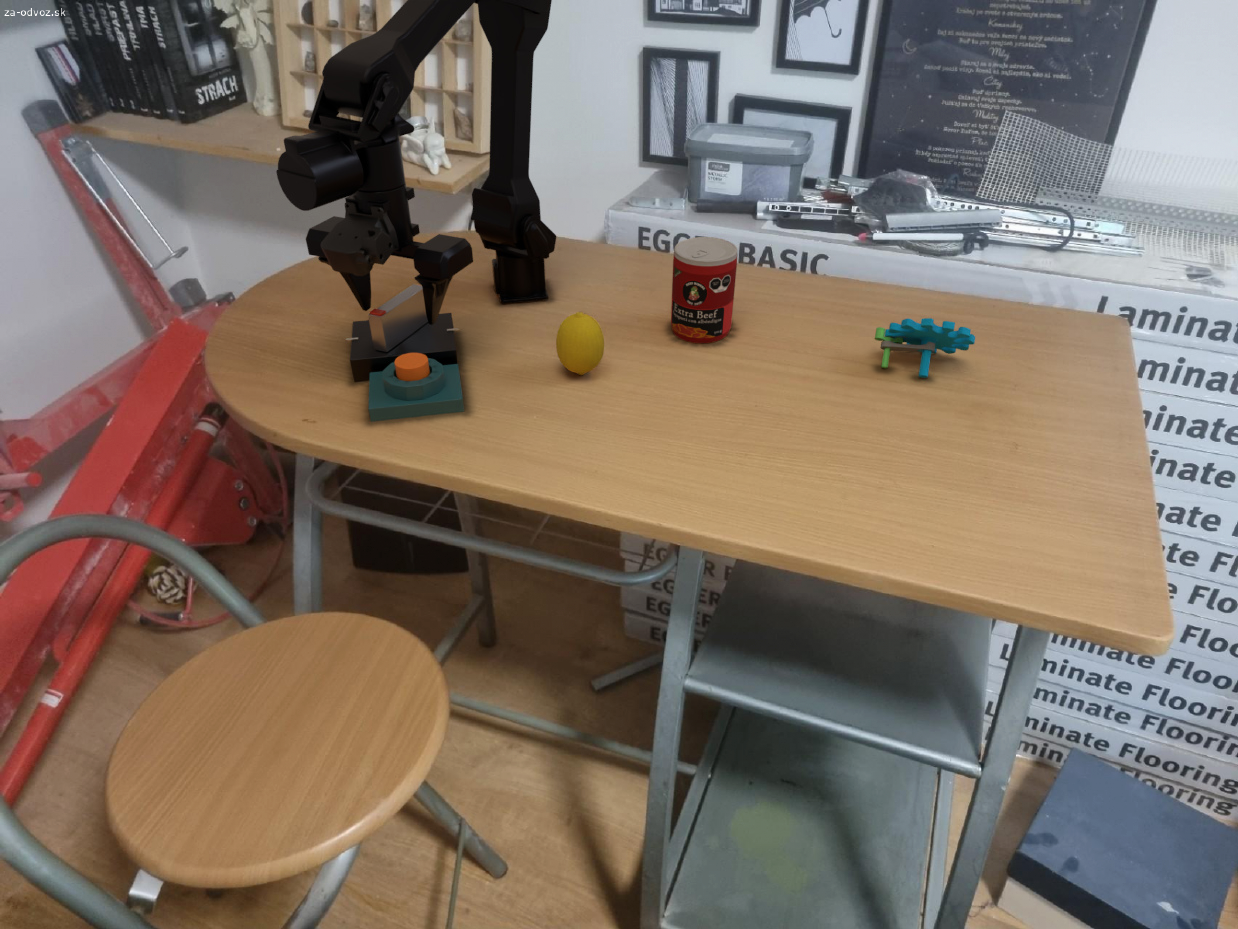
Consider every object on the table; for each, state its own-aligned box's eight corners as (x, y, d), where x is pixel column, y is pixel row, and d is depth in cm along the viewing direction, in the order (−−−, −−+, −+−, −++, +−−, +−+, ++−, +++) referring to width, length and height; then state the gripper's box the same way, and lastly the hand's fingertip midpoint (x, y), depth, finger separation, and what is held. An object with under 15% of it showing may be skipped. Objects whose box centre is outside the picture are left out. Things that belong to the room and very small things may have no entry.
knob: (417, 317, 108) (412, 281, 105) (430, 320, 107) (425, 284, 104) (374, 349, 101) (367, 312, 98) (387, 352, 100) (380, 315, 98)
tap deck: (457, 327, 112) (455, 305, 110) (465, 378, 102) (462, 354, 100) (352, 337, 110) (347, 314, 108) (348, 390, 99) (343, 365, 98)
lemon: (598, 388, 100) (598, 325, 95) (552, 383, 101) (549, 320, 96) (609, 365, 104) (608, 304, 100) (564, 360, 105) (561, 299, 100)
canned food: (661, 338, 110) (664, 255, 103) (682, 312, 116) (686, 232, 109) (720, 349, 108) (727, 265, 101) (738, 322, 114) (745, 241, 107)
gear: (976, 345, 105) (975, 315, 96) (969, 392, 104) (968, 366, 95) (881, 339, 109) (873, 309, 100) (874, 384, 108) (864, 358, 99)
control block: (459, 376, 102) (456, 349, 100) (464, 412, 96) (461, 384, 94) (371, 385, 100) (366, 358, 98) (370, 422, 94) (365, 394, 92)
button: (429, 364, 98) (427, 351, 97) (430, 380, 95) (428, 366, 94) (396, 368, 97) (394, 354, 96) (396, 384, 94) (394, 370, 93)
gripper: (256, 194, 90) (289, 330, 99) (409, 220, 84) (429, 362, 93) (325, 165, 99) (350, 292, 108) (468, 186, 93) (481, 319, 102)
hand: (399, 316), depth 102 cm, fingers open, 9 cm apart
